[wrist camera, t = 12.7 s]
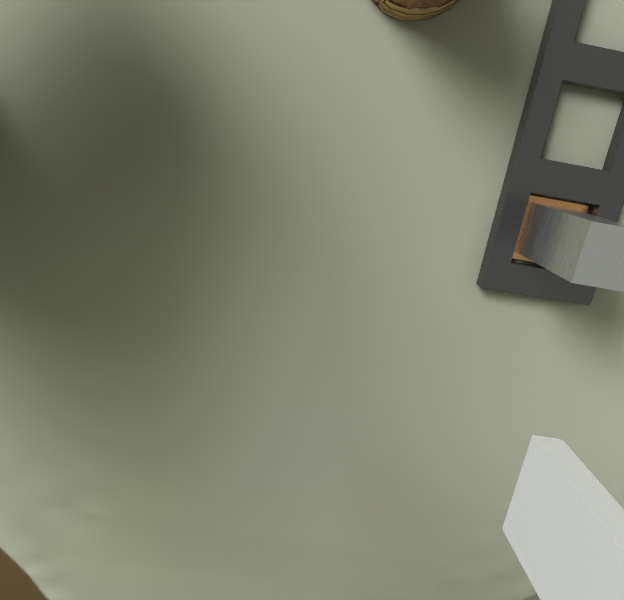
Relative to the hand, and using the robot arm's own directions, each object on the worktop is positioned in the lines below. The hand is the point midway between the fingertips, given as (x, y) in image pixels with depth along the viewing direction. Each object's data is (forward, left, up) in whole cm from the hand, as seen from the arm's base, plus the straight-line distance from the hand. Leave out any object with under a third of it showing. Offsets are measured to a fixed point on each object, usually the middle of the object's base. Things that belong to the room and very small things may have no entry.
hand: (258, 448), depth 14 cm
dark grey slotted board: (+21, +11, -32) cm, 40 cm away
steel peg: (+21, +3, -31) cm, 38 cm away
